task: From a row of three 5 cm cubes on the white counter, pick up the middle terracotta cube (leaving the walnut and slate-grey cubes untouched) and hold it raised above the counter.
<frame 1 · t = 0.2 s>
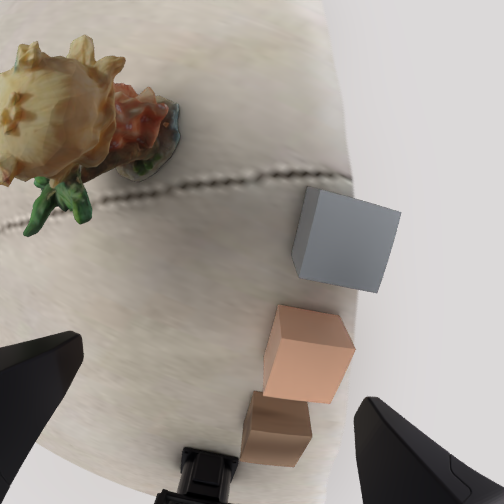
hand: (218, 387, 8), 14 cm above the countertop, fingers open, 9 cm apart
terracotta cube: (300, 336, 23), on the countertop
walnut cube: (273, 411, 25), on the countertop
figurine: (140, 148, 20), on the countertop
slate cube: (332, 228, 20), on the countertop
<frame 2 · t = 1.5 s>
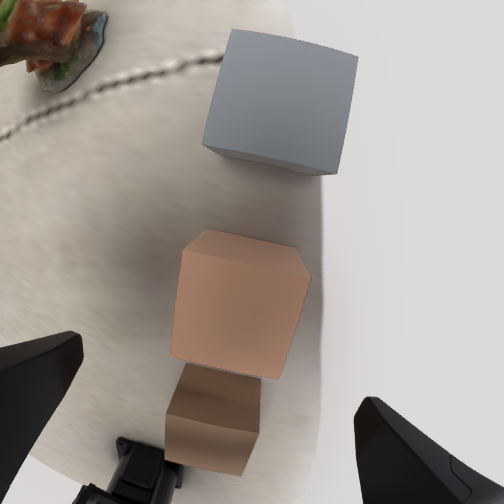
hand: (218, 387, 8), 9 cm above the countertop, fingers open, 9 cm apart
terracotta cube: (242, 280, 16), on the countertop
walnut cube: (217, 396, 19), on the countertop
figurine: (66, 62, 13), on the countertop
slate cube: (277, 120, 14), on the countertop
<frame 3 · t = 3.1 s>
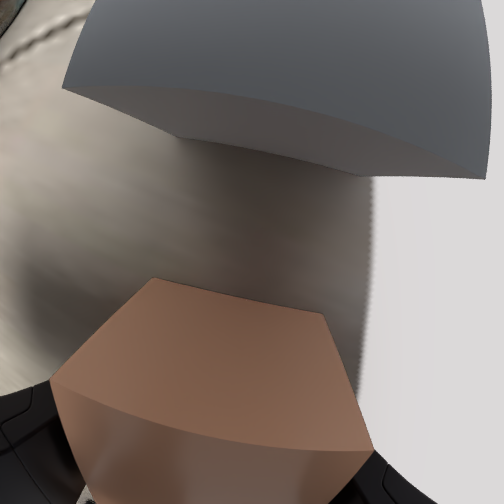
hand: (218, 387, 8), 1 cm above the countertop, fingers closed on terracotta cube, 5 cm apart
terracotta cube: (222, 366, 9), on the countertop, touching gripper
slate cube: (287, 68, 7), on the countertop
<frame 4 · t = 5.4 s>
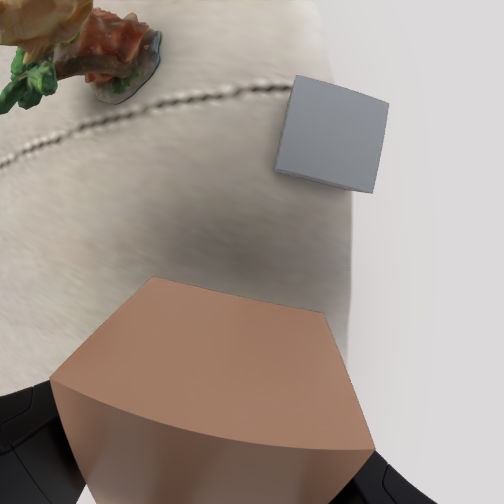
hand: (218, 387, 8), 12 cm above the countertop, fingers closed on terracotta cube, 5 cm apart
terracotta cube: (223, 366, 9), point 11 cm above the countertop, touching gripper
figurine: (120, 75, 17), on the countertop
slate cube: (318, 144, 18), on the countertop
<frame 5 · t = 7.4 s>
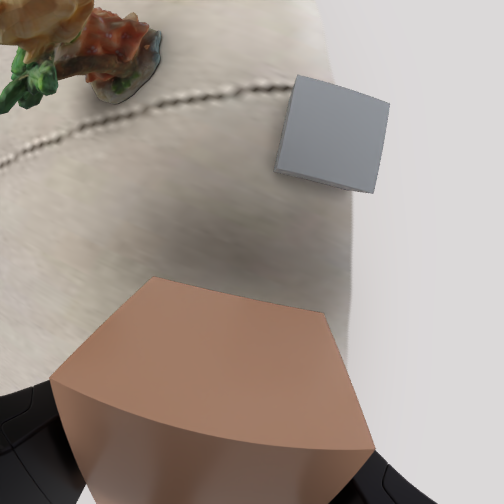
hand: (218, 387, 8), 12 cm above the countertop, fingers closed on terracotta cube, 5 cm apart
terracotta cube: (223, 366, 9), point 11 cm above the countertop, touching gripper
figurine: (121, 75, 17), on the countertop
slate cube: (318, 144, 18), on the countertop
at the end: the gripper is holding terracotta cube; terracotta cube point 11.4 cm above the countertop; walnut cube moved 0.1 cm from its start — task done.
